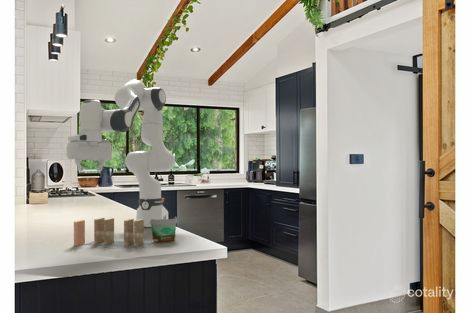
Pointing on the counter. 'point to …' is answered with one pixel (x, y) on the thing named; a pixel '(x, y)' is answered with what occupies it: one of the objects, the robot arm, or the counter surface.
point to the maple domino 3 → (128, 232)
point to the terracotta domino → (79, 232)
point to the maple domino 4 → (139, 232)
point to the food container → (163, 230)
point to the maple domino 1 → (99, 230)
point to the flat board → (119, 244)
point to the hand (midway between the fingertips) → (90, 170)
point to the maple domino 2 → (108, 231)
